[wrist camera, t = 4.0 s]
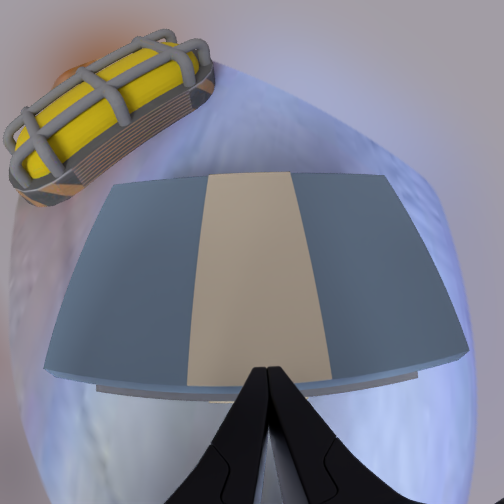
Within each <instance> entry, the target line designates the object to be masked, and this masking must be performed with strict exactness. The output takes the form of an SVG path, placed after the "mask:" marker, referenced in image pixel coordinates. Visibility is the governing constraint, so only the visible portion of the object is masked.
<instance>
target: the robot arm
mask: <svg viewBox="0 0 504 504" xmlns="http://www.w3.org/2000/svg"><path fill="white" fill-rule="evenodd" d="M268 427H269V434H270V440H271V445H272V450H273V455H274V460H275V465H276V470H277V475H278V479H279V484H280V489H281V494H282V499H283V504H425V503H421V502H416V501H413V500H410V499H408V498H406V497H404V496H402V495H400V494H399V493H397V492H396V491H395V490H393V489H392V488H391V487H390V486H388V485H387V484H386V483H385V482H383V481H382V480H381V479H380V478H379V477H377V476H376V475H375V474H374V473H373V472H371V471H370V470H369V469H368V468H367V467H366V466H365V465H363V464H362V463H361V462H360V461H359V460H358V459H357V458H356V457H355V456H354V455H353V454H352V453H351V452H350V451H349V450H348V449H347V447H346V446H345V445H344V444H343V443H342V442H341V440H340V439H339V438H338V437H337V438H336V435H335V434H334V432H333V431H332V430H331V429H330V427H329V426H328V425H327V424H326V423H325V421H324V420H323V419H322V418H321V417H320V415H319V414H318V413H317V412H316V410H315V409H314V408H313V407H312V405H311V404H310V403H309V402H308V400H307V399H306V398H305V397H304V395H303V394H302V393H301V392H300V390H299V389H298V388H297V387H296V385H295V384H294V383H293V382H292V380H291V379H290V378H289V376H288V375H287V374H286V373H285V371H284V370H283V369H282V367H280V366H269V367H267V368H266V367H253V368H252V370H251V372H250V374H249V376H248V378H247V379H246V381H245V383H244V385H243V387H242V389H241V390H240V392H239V394H238V396H237V398H236V400H235V401H234V403H233V405H232V407H231V408H230V410H229V412H228V414H227V416H226V417H225V419H224V421H223V423H222V424H221V426H220V428H219V430H218V431H217V433H216V435H215V436H214V438H213V440H212V442H211V444H210V445H209V446H208V448H207V450H206V451H205V453H204V455H203V456H202V458H201V459H200V461H199V462H198V464H197V465H196V467H195V468H194V469H193V471H192V472H191V473H190V474H189V476H188V477H187V478H186V479H185V480H184V482H183V483H182V484H181V485H180V486H179V487H178V488H177V490H176V491H175V492H174V493H173V494H172V495H171V496H170V497H169V498H168V500H167V501H166V502H165V503H164V504H261V497H262V489H263V480H264V471H265V462H266V452H267V442H268ZM495 504H504V498H502V499H501V500H500V501H498V502H496V503H495Z"/></svg>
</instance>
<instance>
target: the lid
mask: <svg viewBox="0 0 504 504" xmlns="http://www.w3.org/2000/svg"><path fill="white" fill-rule="evenodd" d="M468 351H470V350H469V347H468V344H467V342H466V339H465V336H464V333H463V330H462V328H461V325H460V322H459V320H458V317H457V314H456V312H455V309H454V307H453V304H452V302H451V300H450V297H449V295H448V293H447V290H446V288H445V286H444V284H443V281H442V279H441V277H440V275H439V273H438V270H437V268H436V266H435V264H434V262H433V260H432V258H431V256H430V254H429V252H428V250H427V248H426V246H425V244H424V242H423V240H422V238H421V237H420V235H419V233H418V231H417V229H416V227H415V225H414V224H413V222H412V220H411V218H410V217H409V215H408V213H407V211H406V210H405V208H404V206H403V204H402V203H401V201H400V199H399V198H398V196H397V195H396V193H395V191H394V190H393V188H392V186H391V185H390V183H389V182H388V180H387V179H386V177H385V176H384V175H367V174H338V173H290V172H255V173H229V174H211V175H209V176H201V177H187V178H174V179H163V180H152V181H143V182H134V183H125V184H117V185H113V187H112V189H111V191H110V193H109V195H108V197H107V199H106V201H105V203H104V205H103V207H102V209H101V211H100V213H99V215H98V217H97V219H96V221H95V223H94V225H93V227H92V230H91V232H90V234H89V236H88V238H87V241H86V243H85V245H84V248H83V250H82V252H81V255H80V257H79V260H78V262H77V264H76V267H75V270H74V272H73V275H72V277H71V280H70V283H69V285H68V288H67V291H66V294H65V296H64V299H63V302H62V305H61V308H60V311H59V314H58V317H57V321H56V324H55V327H54V331H53V334H52V337H51V341H50V345H49V348H48V352H47V356H46V360H45V364H44V368H43V369H45V370H46V371H48V372H49V373H50V374H52V375H53V376H55V377H58V378H63V379H68V380H73V381H78V382H84V383H90V384H97V385H103V386H111V387H118V388H127V389H136V390H147V391H160V392H176V393H203V394H239V392H240V390H241V389H242V387H243V385H244V383H245V381H246V379H247V378H248V376H249V374H250V372H251V370H252V368H253V367H266V368H267V367H269V366H280V367H282V369H283V370H284V371H285V373H286V374H287V375H288V376H289V378H290V379H291V380H292V382H293V383H294V384H295V385H296V387H297V388H298V389H299V390H306V389H316V388H325V387H333V386H340V385H347V384H354V383H360V382H366V381H372V380H377V379H383V378H388V377H393V376H398V375H402V374H407V373H411V372H415V371H420V370H424V369H428V368H431V367H435V366H439V365H443V364H446V363H450V362H453V361H457V360H459V359H460V358H461V357H462V356H464V355H465V354H466V353H467V352H468Z"/></svg>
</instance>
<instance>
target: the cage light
mask: <svg viewBox="0 0 504 504" xmlns="http://www.w3.org/2000/svg"><path fill="white" fill-rule="evenodd" d="M162 38H165V39H166V42H161V43H159V42H156V41H158V40H160V39H162ZM142 48H143V49H142ZM195 49H197V50H195ZM131 53H133V54H131ZM129 54H131V55H129ZM127 55H129V56H127ZM125 56H127V57H125ZM123 57H125V58H123ZM121 58H123V59H121ZM119 59H121V60H119ZM118 60H119V61H118ZM116 61H118V62H116ZM114 62H116V63H114ZM112 63H114V64H112ZM110 64H112V65H110ZM109 65H110V66H109ZM107 66H109V67H107ZM105 67H107V68H105ZM103 68H105V69H104V70H102V69H103ZM100 70H102V71H100ZM98 71H100V72H98ZM97 72H98V73H97ZM95 73H97V74H95ZM78 84H79V85H78ZM76 85H78V86H76ZM75 86H76V87H75ZM214 86H215V78H214V69H213V62H212V60H211V58H210V50H209V46H208V44H207V43H206V42H205V41H204V40H202V39H191V40H188V41H186V42H184V43H181V44H177V40H176V36H175V34H174V33H173V32H172V31H171V30H169V29H161V30H158V31H155V32H153V33H151V34H149V35H146V36H144V37H141V36H139V37H138V36H137V37H135V38H134V39H133V40H132V42H131V43H130V44H127V45H126V46H123V47H121V48H120V49H118V50H116V51H114V52H112V53H110V54H108V55H106V56H105V57H103V58H101V59H99V60H98V61H96V62H94V63H92V64H91V65H89V66H87V67H86V68H85V67H80V68H78V69H77V71H76V74H75V75H73V76H72V77H70V78H69V79H67V80H66V81H64V82H63V83H61V84H60V85H58V86H57V87H55V88H54V89H53V90H51V91H50V92H49V93H47V94H46V95H45V96H43V97H42V98H40V99H39V100H38V101H37V102H35V103H34V104H33V105H32V106H30V107H27V106H26V107H24V108H23V109H22V110H21V115H19V116H18V117H17V118H16V119H15V120H14V121H12V122H11V123H10V124H9V126H7V128H6V130H5V132H4V135H3V143H4V145H5V147H6V149H7V150H8V151H9V152H10V154H11V155H12V158H11V161H10V167H9V180H10V182H11V184H12V185H13V187H14V188H15V189H16V190H17V191H18V193H19V194H20V195H21V196H22V197H23V198H24V199H25V200H26V201H27V202H28V203H29V204H32V205H34V206H37V207H47V206H53V205H56V204H58V203H60V202H63V201H65V200H68V199H69V198H71V197H72V196H74V195H75V194H76V193H78V192H79V191H81V190H82V189H84V188H85V187H86V186H88V185H89V184H90V183H91V182H92V181H94V180H95V179H96V178H97V177H99V176H100V175H101V174H102V173H104V172H105V171H106V170H107V169H109V168H110V167H111V166H113V165H114V164H115V163H117V162H118V161H119V160H121V159H122V158H123V157H125V156H126V155H127V154H129V153H130V152H132V151H133V150H134V149H136V148H137V147H139V146H140V145H142V144H143V143H144V142H146V141H147V140H149V139H150V138H152V137H153V136H155V135H156V134H158V133H159V132H161V131H162V130H164V129H165V128H167V127H169V126H170V125H172V124H173V123H175V122H176V121H178V120H180V119H181V118H183V117H185V116H186V115H188V114H190V113H191V112H193V111H194V110H196V109H197V108H198V107H200V106H201V105H202V104H204V103H205V102H206V101H207V100H208V98H209V97H210V96H211V95H212V93H213V91H214ZM73 87H75V88H73ZM72 88H73V89H72ZM70 89H72V90H70ZM69 90H70V91H69ZM67 91H69V92H68V93H66V92H67ZM64 93H66V94H65V95H63V94H64ZM62 95H63V96H62ZM60 96H62V97H60ZM59 97H60V98H59ZM57 98H59V99H58V100H56V99H57ZM55 100H56V101H55ZM53 101H55V102H54V103H52V102H53ZM51 103H52V104H51ZM49 104H51V105H50V106H48V105H49ZM47 106H48V107H47ZM45 107H47V108H46V109H44V108H45ZM43 109H44V110H43ZM42 110H43V111H42ZM40 111H42V112H41V113H39V112H40ZM38 113H39V114H38ZM36 114H38V115H37V116H35V115H36ZM24 124H25V127H24V128H23V130H22V131H21V133H20V135H19V137H18V140H17V143H16V142H15V140H14V139H13V135H14V133H15V132H16V131H17V130H19V129H20V128H21V127H22V126H23V125H24Z"/></svg>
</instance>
